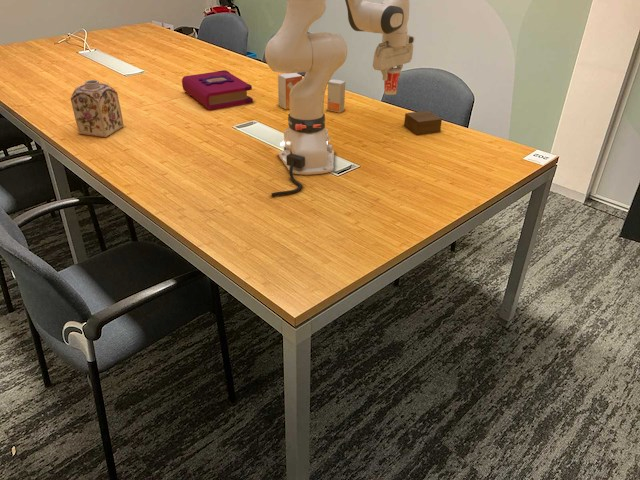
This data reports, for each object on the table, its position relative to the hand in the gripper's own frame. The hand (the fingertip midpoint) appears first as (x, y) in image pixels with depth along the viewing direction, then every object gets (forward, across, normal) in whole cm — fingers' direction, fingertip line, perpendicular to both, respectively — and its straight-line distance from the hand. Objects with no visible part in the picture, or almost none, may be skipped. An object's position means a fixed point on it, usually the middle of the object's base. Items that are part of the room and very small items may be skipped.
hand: (391, 78), depth 197 cm
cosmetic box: (+16, -5, +23) cm, 29 cm away
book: (+16, -29, +70) cm, 77 cm away
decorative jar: (+17, -83, +70) cm, 109 cm away
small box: (+16, -15, +40) cm, 45 cm away
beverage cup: (+6, 0, 0) cm, 6 cm away
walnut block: (+17, +3, -14) cm, 22 cm away
